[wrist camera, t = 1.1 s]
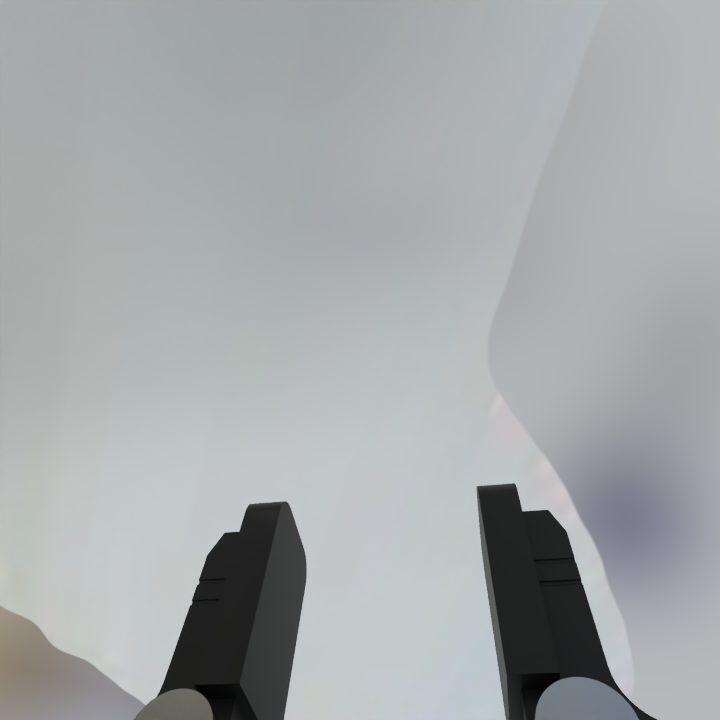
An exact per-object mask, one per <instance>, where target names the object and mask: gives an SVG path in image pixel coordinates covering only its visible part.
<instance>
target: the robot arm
mask: <svg viewBox="0 0 720 720" xmlns="http://www.w3.org/2000/svg"><path fill="white" fill-rule="evenodd" d="M477 499H478V511H479V523H480V536H481V546H482V555H483V563H484V571H485V578H486V584H487V591H488V598H489V605H490V612H491V619H492V626H493V633H494V639H495V646H496V653H497V660H498V667H499V674H500V681H501V688H502V694H503V701H504V708H505V715H506V720H657V719H655V718H653V717H651V716H649V715H648V714H646V713H644V712H643V711H642V710H640V709H639V708H638V707H637V706H635V705H634V704H633V703H632V702H631V701H630V700H629V699H628V698H627V697H626V696H625V695H624V694H623V693H622V691H621V690H620V689H619V687H618V686H617V684H616V683H615V681H614V679H613V677H612V675H611V673H610V670H609V668H608V665H607V662H606V658H605V655H604V652H603V649H602V645H601V642H600V639H599V636H598V632H597V629H596V626H595V623H594V619H593V616H592V613H591V610H590V606H589V603H588V600H587V597H586V594H585V590H584V587H583V585H582V583H581V577H580V574H579V571H578V568H577V564H576V563H575V559H574V555H573V551H572V548H571V545H570V542H569V538H568V535H567V532H566V530H565V529H564V528H563V527H562V526H561V525H560V523H559V522H558V521H557V520H556V519H555V518H554V517H553V515H552V514H551V513H550V512H549V511H548V510H540V511H525V512H522V508H521V504H520V500H519V496H518V491H517V488H516V485H515V484H502V485H489V486H477ZM199 581H200V582H199V585H197V587H196V590H195V593H194V596H193V599H192V602H193V603H192V605H190V608H189V611H188V614H187V616H186V619H185V622H184V625H183V628H182V631H181V634H180V637H179V640H178V643H177V645H176V648H175V651H174V654H173V657H172V660H171V663H170V666H169V669H168V672H167V675H166V677H165V680H164V683H163V685H162V688H161V690H160V692H159V694H158V696H157V697H156V698H155V699H153V700H152V701H151V702H149V703H148V704H147V705H146V706H145V707H144V708H143V709H142V710H141V711H140V712H139V713H138V715H137V716H136V718H135V719H134V720H284V714H285V708H286V702H287V696H288V689H289V683H290V677H291V671H292V665H293V658H294V652H295V646H296V640H297V634H298V627H299V621H300V615H301V609H302V603H303V596H304V590H305V584H306V557H305V551H304V548H303V545H302V542H301V539H300V536H299V533H298V530H297V527H296V523H295V520H294V517H293V514H292V511H291V508H290V506H289V504H288V503H287V502H272V503H259V504H250V505H249V506H248V508H247V509H246V512H245V515H244V519H243V522H242V525H241V529H240V532H231V533H224V535H223V536H222V537H221V539H220V540H219V541H218V542H217V544H216V545H215V546H214V548H213V549H212V550H211V551H210V553H209V554H208V555H207V558H206V561H205V564H204V567H203V570H202V573H201V576H200V579H199Z"/></svg>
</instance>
